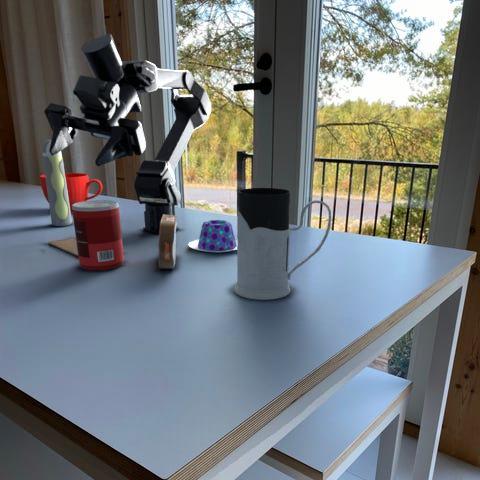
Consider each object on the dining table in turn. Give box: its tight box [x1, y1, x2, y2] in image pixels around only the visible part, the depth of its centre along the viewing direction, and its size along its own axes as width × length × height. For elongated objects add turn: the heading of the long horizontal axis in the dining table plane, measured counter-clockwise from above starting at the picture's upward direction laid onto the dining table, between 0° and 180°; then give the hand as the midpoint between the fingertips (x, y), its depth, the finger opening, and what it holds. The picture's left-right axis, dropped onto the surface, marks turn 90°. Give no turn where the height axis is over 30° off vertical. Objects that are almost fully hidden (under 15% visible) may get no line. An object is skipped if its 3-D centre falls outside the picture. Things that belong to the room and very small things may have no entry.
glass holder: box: [233, 187, 332, 301], centre depth 71 cm, size 9×14×15 cm, turn 88°
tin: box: [158, 214, 178, 270], centre depth 86 cm, size 15×3×8 cm, turn 5°
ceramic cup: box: [39, 172, 103, 214], centre depth 135 cm, size 13×17×10 cm
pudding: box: [187, 219, 237, 253], centre depth 97 cm, size 12×12×5 cm
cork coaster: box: [47, 237, 79, 258], centre depth 97 cm, size 7×18×1 cm, turn 43°
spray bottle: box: [41, 139, 73, 227], centre depth 115 cm, size 5×5×20 cm
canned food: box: [72, 199, 125, 271], centre depth 84 cm, size 8×8×11 cm
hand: (73, 158), depth 84 cm, fingers open, 9 cm apart
